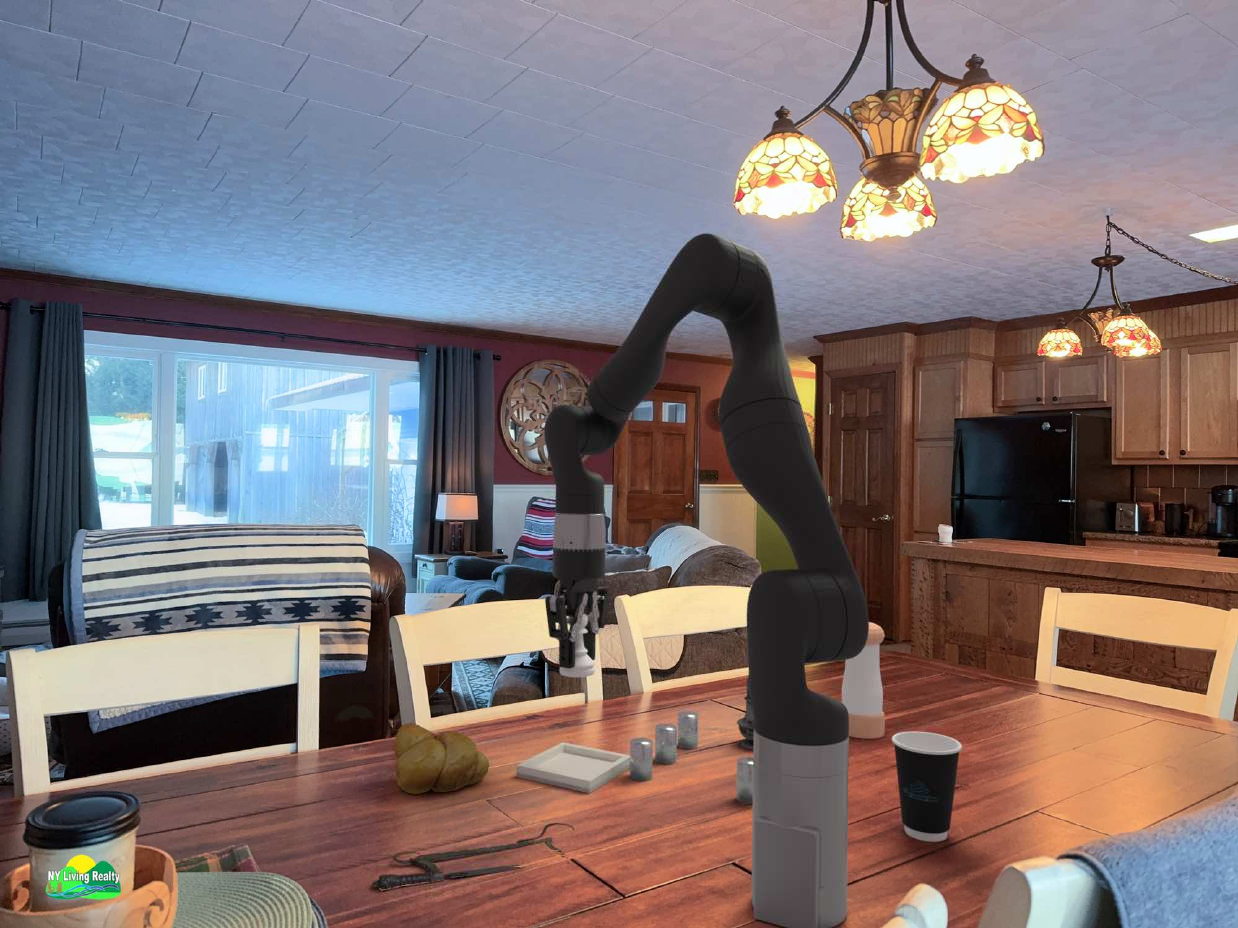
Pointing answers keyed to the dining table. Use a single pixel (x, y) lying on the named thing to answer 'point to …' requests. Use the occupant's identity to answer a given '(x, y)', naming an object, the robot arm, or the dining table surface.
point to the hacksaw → (435, 873)
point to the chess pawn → (580, 655)
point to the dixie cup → (926, 782)
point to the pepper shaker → (865, 689)
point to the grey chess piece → (747, 724)
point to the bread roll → (436, 760)
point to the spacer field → (686, 740)
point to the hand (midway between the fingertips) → (577, 663)
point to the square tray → (574, 767)
